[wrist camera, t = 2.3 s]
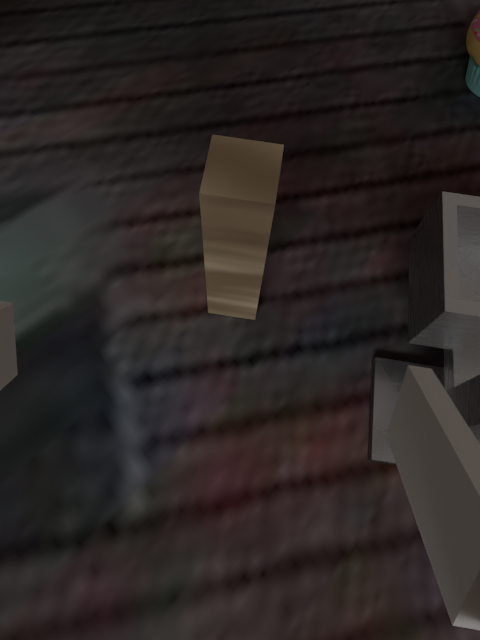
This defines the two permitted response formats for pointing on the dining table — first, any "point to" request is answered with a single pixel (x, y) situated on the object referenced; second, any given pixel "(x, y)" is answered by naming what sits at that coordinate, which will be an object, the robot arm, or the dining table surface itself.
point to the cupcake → (474, 55)
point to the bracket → (438, 316)
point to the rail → (237, 221)
